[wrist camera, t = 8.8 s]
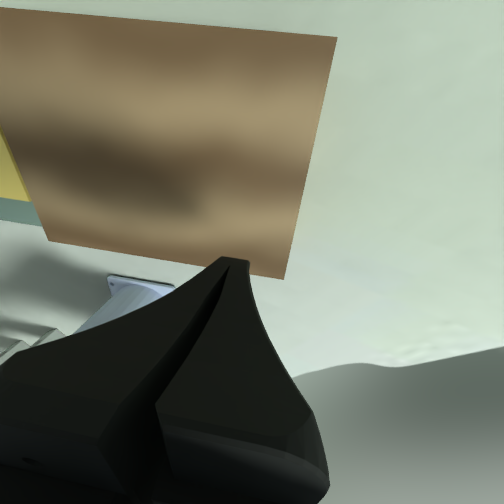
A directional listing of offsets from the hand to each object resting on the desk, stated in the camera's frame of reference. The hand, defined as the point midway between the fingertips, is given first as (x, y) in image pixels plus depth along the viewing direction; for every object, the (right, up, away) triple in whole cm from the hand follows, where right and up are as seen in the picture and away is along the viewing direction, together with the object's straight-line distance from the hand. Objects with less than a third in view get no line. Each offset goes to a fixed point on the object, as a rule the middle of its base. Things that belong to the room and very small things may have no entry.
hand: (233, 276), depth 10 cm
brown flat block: (-5, +8, +8) cm, 12 cm away
